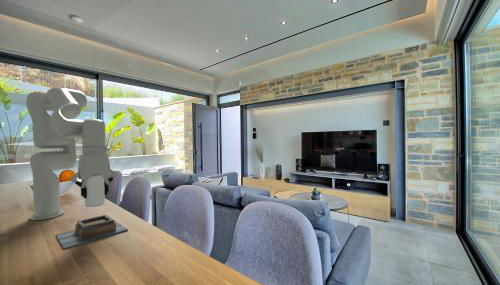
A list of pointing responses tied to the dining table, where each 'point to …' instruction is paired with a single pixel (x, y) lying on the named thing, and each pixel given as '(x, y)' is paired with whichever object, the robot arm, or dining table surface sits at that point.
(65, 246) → the board
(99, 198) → the can
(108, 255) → the dining table surface
